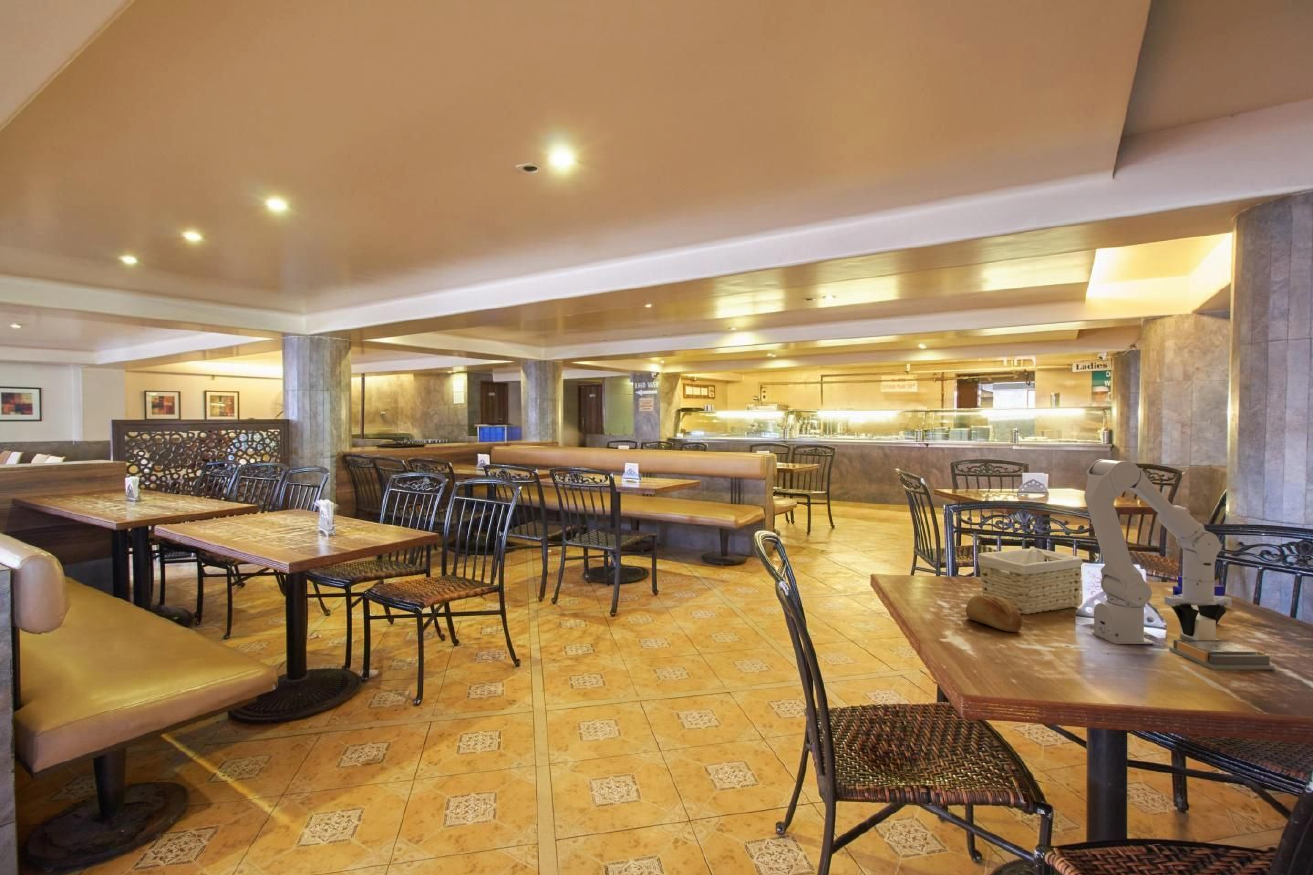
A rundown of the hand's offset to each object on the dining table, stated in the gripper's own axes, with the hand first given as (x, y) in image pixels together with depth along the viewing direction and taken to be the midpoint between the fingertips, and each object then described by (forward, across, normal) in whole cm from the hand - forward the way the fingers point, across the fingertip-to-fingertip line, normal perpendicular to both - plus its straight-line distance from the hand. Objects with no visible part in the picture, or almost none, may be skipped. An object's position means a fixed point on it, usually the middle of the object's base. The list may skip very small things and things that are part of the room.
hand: (1197, 634), depth 144 cm
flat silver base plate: (0, -5, -11) cm, 12 cm away
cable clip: (+2, +31, +34) cm, 46 cm away
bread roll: (+2, -43, +12) cm, 45 cm away
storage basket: (+2, -22, +31) cm, 38 cm away
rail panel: (+2, -5, -11) cm, 12 cm away
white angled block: (+2, +16, +16) cm, 23 cm away
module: (+2, 0, 0) cm, 2 cm away
